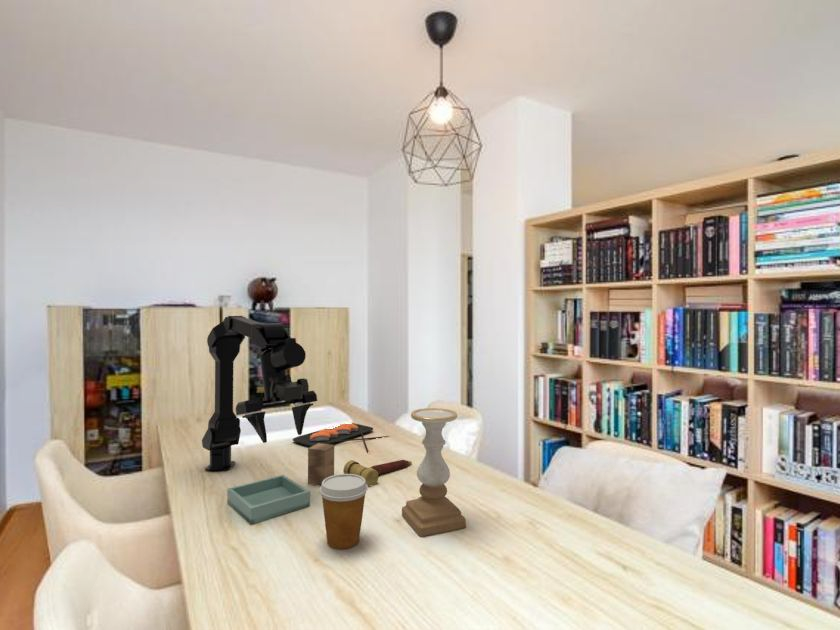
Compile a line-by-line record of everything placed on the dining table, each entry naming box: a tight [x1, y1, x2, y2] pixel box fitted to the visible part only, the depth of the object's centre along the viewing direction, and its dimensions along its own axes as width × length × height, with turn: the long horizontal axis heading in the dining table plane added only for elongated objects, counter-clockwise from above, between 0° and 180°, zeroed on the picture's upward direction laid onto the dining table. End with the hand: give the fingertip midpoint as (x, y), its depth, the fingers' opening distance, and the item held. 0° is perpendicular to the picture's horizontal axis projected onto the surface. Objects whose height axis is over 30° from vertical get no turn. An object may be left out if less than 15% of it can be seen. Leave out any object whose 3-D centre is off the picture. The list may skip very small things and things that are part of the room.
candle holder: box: [401, 407, 467, 538], centre depth 100 cm, size 11×11×24 cm
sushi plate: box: [292, 422, 390, 453], centre depth 159 cm, size 29×30×4 cm
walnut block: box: [307, 443, 335, 487], centre depth 121 cm, size 5×5×10 cm
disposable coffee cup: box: [318, 473, 369, 550], centre depth 91 cm, size 10×10×12 cm
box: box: [226, 474, 311, 525], centre depth 107 cm, size 14×14×4 cm
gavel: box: [343, 459, 413, 487], centre depth 129 cm, size 21×5×10 cm
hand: (283, 438), depth 108 cm, fingers open, 9 cm apart
